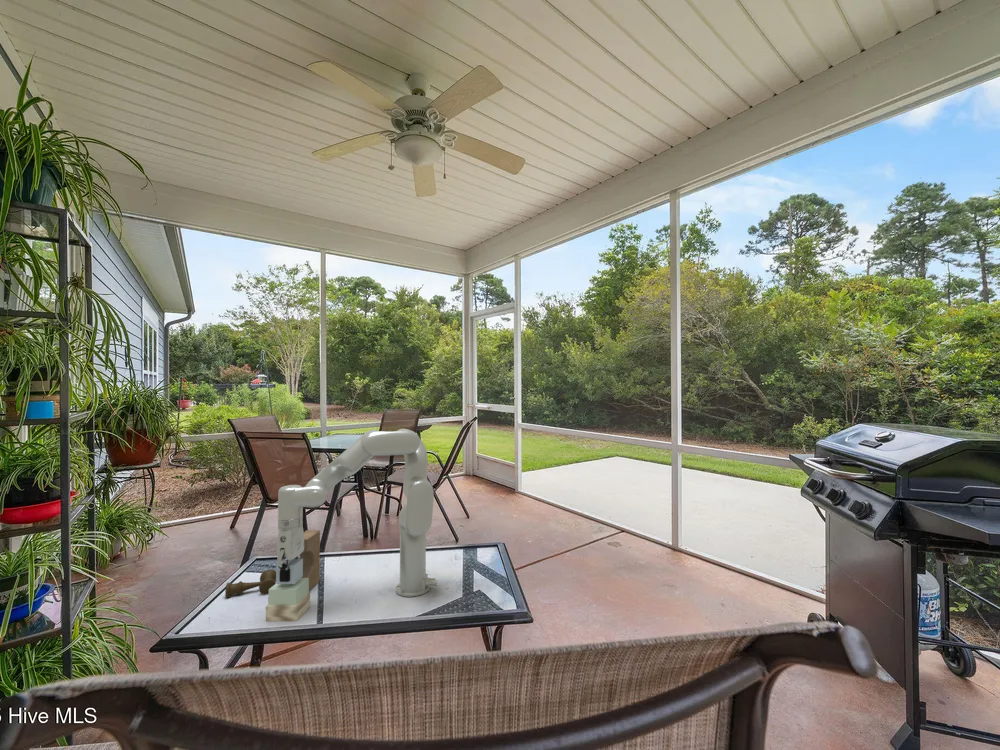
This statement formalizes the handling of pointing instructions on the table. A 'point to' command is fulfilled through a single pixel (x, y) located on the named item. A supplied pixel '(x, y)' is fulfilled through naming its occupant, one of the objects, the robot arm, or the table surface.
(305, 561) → the decorative block
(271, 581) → the kendama
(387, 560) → the table surface
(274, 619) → the lower tower block
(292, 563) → the grey-blue cube
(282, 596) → the upper tower block
